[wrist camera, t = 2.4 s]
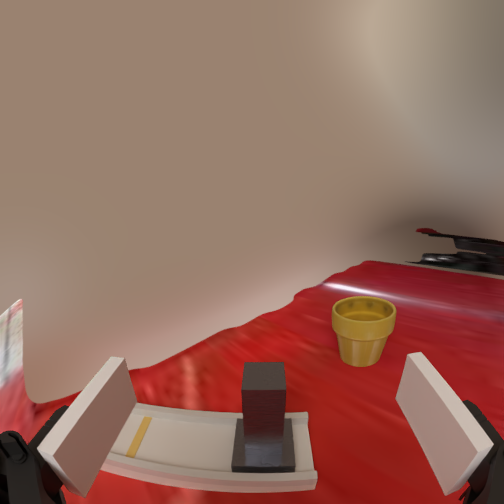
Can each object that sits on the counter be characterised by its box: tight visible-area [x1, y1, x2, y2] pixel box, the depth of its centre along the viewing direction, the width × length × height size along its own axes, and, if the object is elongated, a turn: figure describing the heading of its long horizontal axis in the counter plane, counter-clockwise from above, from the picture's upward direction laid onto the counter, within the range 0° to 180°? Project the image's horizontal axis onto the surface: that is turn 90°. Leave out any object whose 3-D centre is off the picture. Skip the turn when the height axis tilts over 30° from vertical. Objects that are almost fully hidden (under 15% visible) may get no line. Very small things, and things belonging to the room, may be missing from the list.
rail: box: [100, 403, 318, 493], centre depth 26 cm, size 26×10×3 cm, turn 88°
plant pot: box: [332, 296, 396, 367], centre depth 43 cm, size 10×10×10 cm
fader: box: [231, 362, 296, 473], centre depth 24 cm, size 6×7×10 cm
